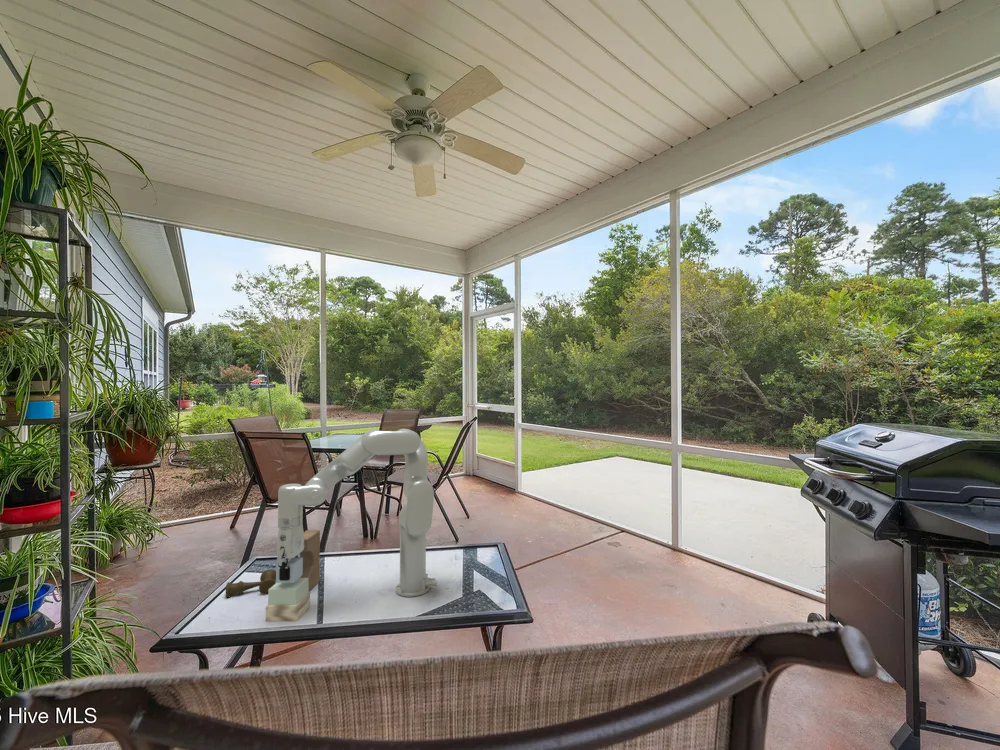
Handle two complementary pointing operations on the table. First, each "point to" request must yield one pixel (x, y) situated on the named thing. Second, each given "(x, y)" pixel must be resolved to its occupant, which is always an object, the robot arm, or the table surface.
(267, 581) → the kendama
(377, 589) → the table surface
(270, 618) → the lower tower block
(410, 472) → the robot arm
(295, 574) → the grey-blue cube
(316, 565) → the decorative block
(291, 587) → the upper tower block
